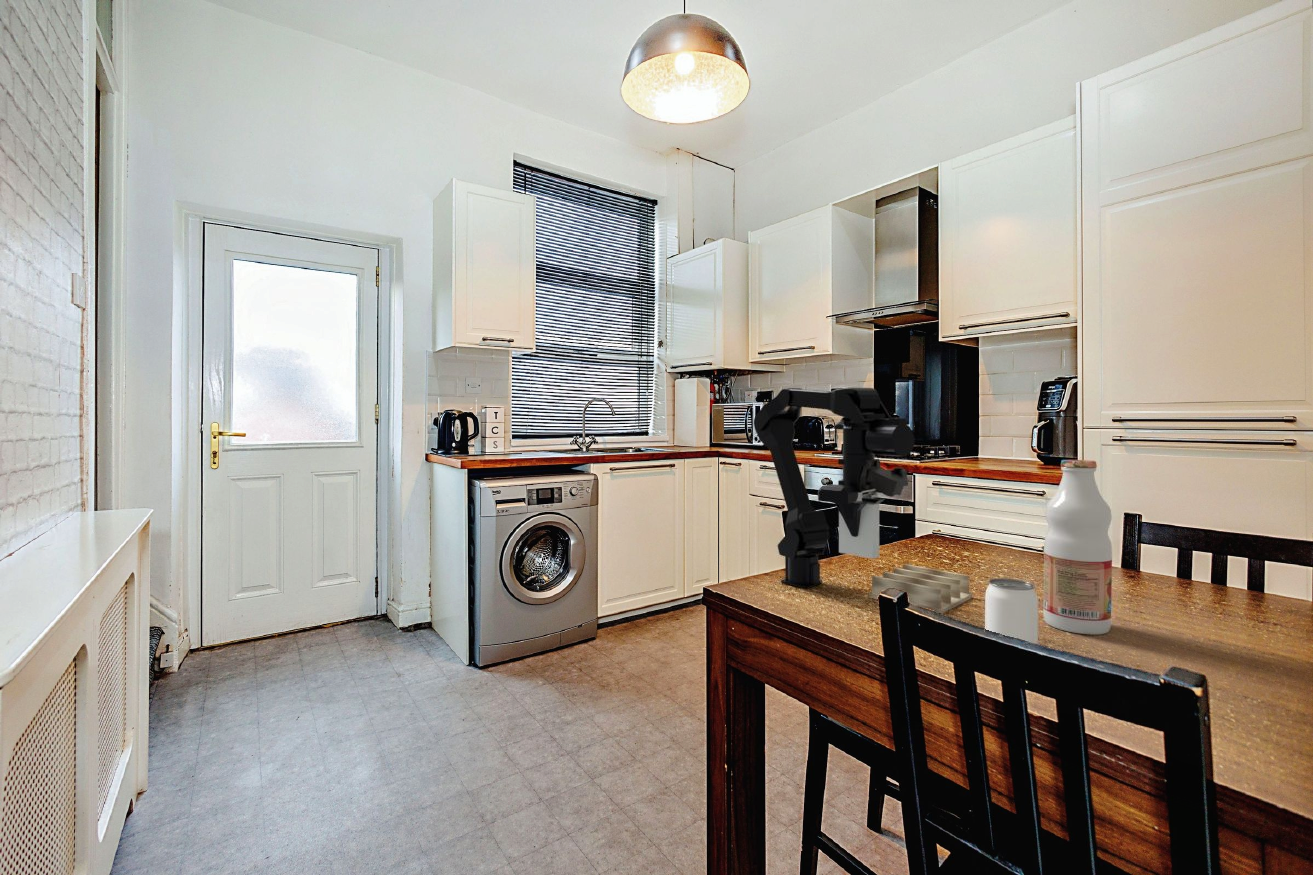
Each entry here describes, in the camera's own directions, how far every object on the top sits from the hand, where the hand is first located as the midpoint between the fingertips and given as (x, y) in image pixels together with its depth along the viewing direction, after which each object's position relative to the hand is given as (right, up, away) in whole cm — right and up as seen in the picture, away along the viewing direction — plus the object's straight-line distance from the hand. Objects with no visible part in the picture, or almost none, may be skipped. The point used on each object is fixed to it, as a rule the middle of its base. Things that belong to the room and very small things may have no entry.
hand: (858, 535), depth 115 cm
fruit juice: (+32, -13, -13) cm, 37 cm away
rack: (+13, -13, +4) cm, 19 cm away
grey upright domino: (0, -4, 0) cm, 4 cm away
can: (+12, -14, -29) cm, 34 cm away
